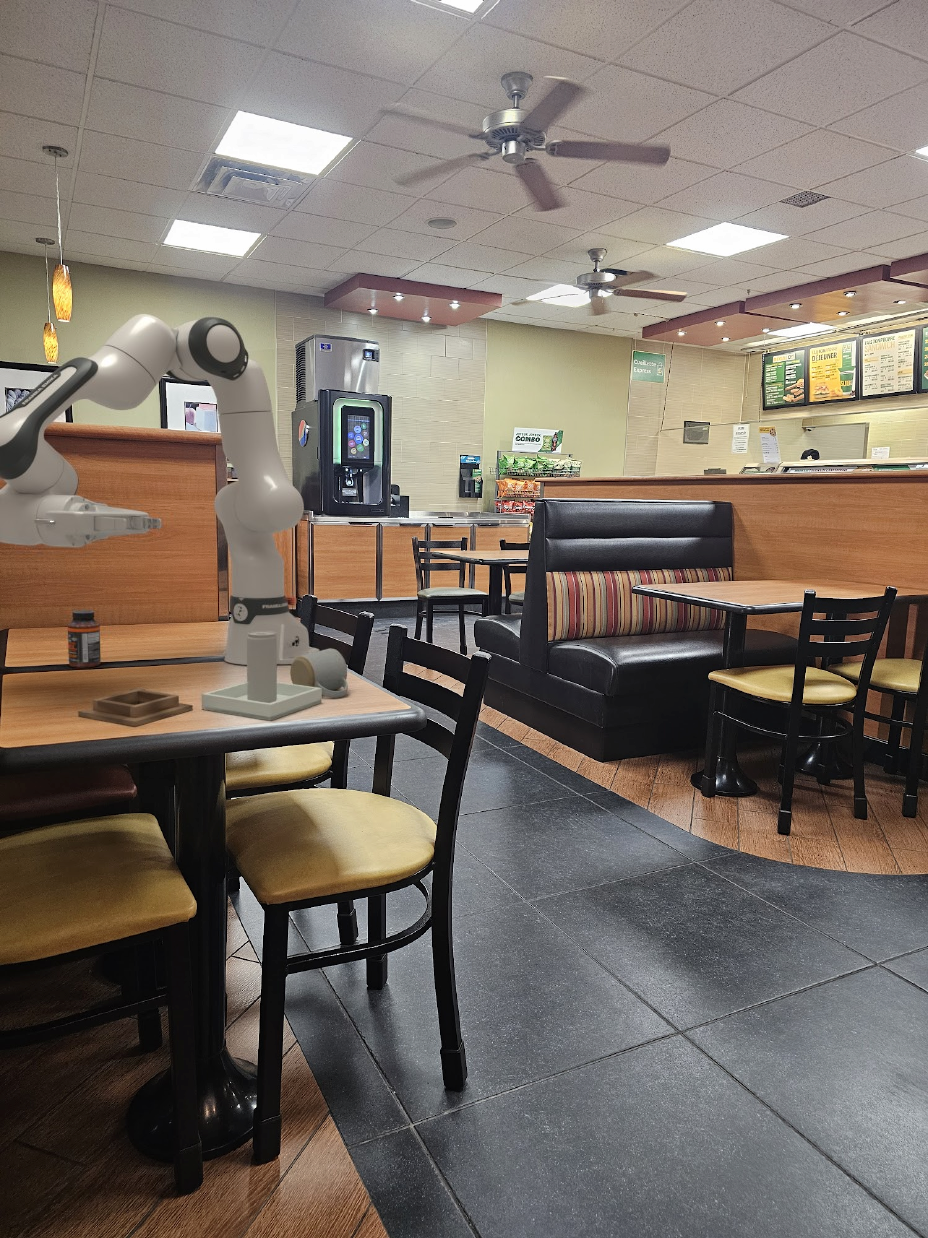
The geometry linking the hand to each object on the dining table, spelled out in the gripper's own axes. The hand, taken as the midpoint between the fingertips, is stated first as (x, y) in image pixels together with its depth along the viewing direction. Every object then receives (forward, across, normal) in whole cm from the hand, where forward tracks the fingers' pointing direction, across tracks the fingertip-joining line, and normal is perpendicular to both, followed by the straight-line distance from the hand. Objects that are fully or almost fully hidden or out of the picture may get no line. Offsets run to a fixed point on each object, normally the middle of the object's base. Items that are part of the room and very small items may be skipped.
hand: (144, 523), depth 133 cm
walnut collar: (+4, -9, +30) cm, 32 cm away
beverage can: (+21, 0, +30) cm, 36 cm away
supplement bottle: (-27, +22, +30) cm, 46 cm away
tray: (+21, 0, +30) cm, 37 cm away
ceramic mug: (+27, +13, +30) cm, 43 cm away
